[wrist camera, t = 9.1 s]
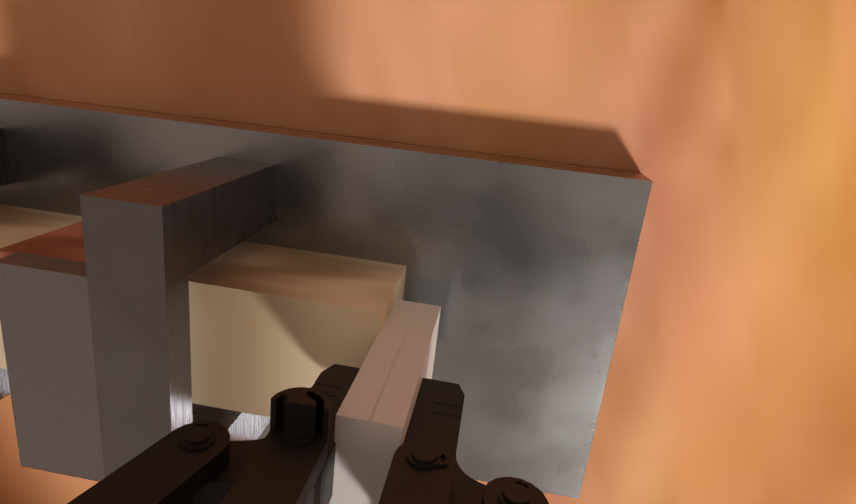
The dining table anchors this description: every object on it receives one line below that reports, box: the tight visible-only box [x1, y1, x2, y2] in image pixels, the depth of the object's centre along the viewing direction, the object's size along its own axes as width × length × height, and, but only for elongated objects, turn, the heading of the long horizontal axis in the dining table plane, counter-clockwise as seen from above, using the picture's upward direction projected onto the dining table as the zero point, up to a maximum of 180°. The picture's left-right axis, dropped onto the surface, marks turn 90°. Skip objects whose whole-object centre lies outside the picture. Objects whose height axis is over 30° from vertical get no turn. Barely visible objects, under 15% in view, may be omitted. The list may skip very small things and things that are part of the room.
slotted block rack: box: [0, 93, 652, 499], centre depth 18 cm, size 30×12×8 cm, turn 84°
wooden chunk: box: [0, 204, 406, 417], centre depth 19 cm, size 20×4×4 cm, turn 84°
